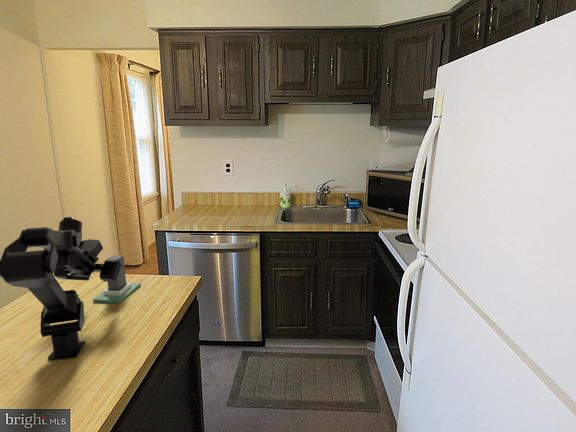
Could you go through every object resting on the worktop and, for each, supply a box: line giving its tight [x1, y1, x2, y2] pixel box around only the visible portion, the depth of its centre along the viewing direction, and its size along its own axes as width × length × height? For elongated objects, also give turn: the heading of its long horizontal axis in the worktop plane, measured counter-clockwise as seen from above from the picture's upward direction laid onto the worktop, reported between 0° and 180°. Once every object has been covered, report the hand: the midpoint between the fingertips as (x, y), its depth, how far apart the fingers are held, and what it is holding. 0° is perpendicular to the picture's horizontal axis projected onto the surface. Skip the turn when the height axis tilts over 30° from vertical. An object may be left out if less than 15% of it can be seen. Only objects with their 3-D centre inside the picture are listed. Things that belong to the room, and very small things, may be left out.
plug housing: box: [104, 254, 127, 291], centre depth 121 cm, size 5×4×12 cm
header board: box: [92, 281, 142, 304], centre depth 122 cm, size 14×9×2 cm, turn 174°
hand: (102, 279), depth 113 cm, fingers open, 9 cm apart
